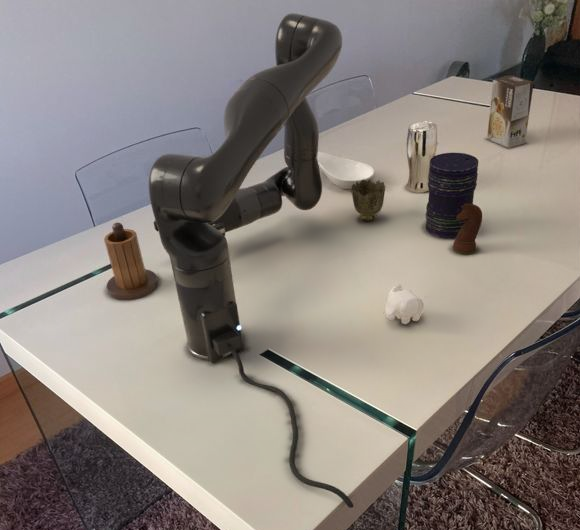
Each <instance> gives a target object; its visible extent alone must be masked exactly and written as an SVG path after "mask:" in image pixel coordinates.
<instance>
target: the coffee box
mask: <svg viewBox="0 0 580 530" xmlns="http://www.w3.org/2000/svg"><path fill="white" fill-rule="evenodd" d="M534 83H535V82H534V81H532V80H528V79H525V78H522V77H519V76H515V75H513V74H510V75H504V76H501V77H498V78H494V79H493V81H492V89H491V98H490V108H489V117H488V124H487V125H488V128H487V135H486V139H487V140H488V141H490V142H493V143H496V144H498V145H500V146H503V147H505V148H507V149H510V148H514V147H517V146H521V145H524V144H526V139H527V133H528V125H529V119H530V112H531V105H532V98H533V91H534Z"/></svg>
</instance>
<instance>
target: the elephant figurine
mask: <svg viewBox="0 0 580 530" xmlns="http://www.w3.org/2000/svg"><path fill="white" fill-rule="evenodd" d="M387 298H388V299H387V301H386V305H385V308H384V311H383V313H384V314H385V317H386V319H387V320H388V321H393V320H395V318H397V319H398V320H401V323H402V325H407V324H409V323H410V321H411V320H412V321H413V322H417V321H419V320H420V318H421V316H422V314H423V311H424V307H425V304H424V299H425V298H427V295H424V297H421V298H420V296H418V295H417V294H416V293H415V292H414V291H413V290H411V289H403V285H402V284H396V285H395V286H394V287H392V288H391V289H390V290H389V293H388V295H387Z"/></svg>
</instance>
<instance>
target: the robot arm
mask: <svg viewBox="0 0 580 530" xmlns="http://www.w3.org/2000/svg"><path fill="white" fill-rule="evenodd" d="M342 35H343V34H342V32H341V30H340V28H339V26H337V25H336V24H335V23H333V22H331V21H329V20H327V19H322V18H317V17H313V16H308V15H305V14H300V13H295V12H293V13H287V14H286V15H285V16H284V17H283V18H282V19H281V21H280V23H279V24H278V27H277V30H276V34H275V42H274V55H275V66H272V67H269V68H266V69H263V70H260V71H258V72H255V73H254V74H253V75H251V76H249V77H248V78H247V79H245V81H244V82H243V83H242V84H241V85H240V86H239V87H238V88H237V90H236V91H235V92H234V93H233V94H232V96H231V97H230V98H229V99H228V100H227V103H226V105H225V107H224V112H223V128H224V135H225V140H224V141H223V142H222V144H221V145H220V146H219V147H218V149H217V150H215V152H213V153H212V154H211V155H208V156H206V157H205V156H204V157H203V156H195V155H187V154H179V153H165V154H162V155H161V156H159V157H158V158H156V160H155V161H154V162H153V164H152V166H151V169H150V172H149V176H148V194H149V201H150V206H151V209H152V213H153V218H154V221H153V227H154V230H155V231H156V232H158V235H159V239H160V242H161V245H162V247H163V249H164V250H165V252H166V253H167V255H168V257H169V260H170V265H171V269H172V274H173V279H174V284H175V289H176V293H177V298H178V302H179V308H180V312H181V317H182V322H183V327H184V331H185V335H186V340H187V348H188V351H189V353H190V354H191V355H192V356H194V357H195V358H197V359H201V360H207V361H209V362H210V363H216V362H218V361H221V360H223V359H225V358H227V357H230V356H233V357H234V359H235V362H236V363H237V366H238V373H239V376H240V378H242V379H243V380H244V381H245V382H246V383H247V384H249V385H250V386H254V387H257V388H260V389H264V390H267V391H270V392H273V393H276V394H277V395H279V396H280V397H281V398H282V399H283V401H284V402H285V404H286V405H287V408H288V411H289V416H290V422H291V428H292V442H291V445H290V450H289V457H288V462H289V467H290V470H291V472H292V474H293V476H294V477H295V478H296V479H297V480H298V481H300V483H302V484H305V485H308V486H311V487H314V488H316V489H317V488H318V489H322V490H325V491H328V492H331V493H333V494H335V495H336V496H337V497H339V498H340V499H341V500H342V501H343V502H344V503H345V505H346V506H347V507H348V508H350V509H352V508H354V503H353V501H352V500H351V499H350V497H349V496H348V495H347V494H346V493H345V492H344V491H342V490H341V489H340V488H338V487H336V486H333V485H331V484H328V483H324V482H320V481H316V480H313V479H309V478H307V477H305V476H303V475H302V474H301V473H300V472H299V470H298V469H297V466H296V462H295V461H296V460H295V457H296V454H295V453H296V450H297V445H298V440H299V430H298V429H299V428H298V423H297V417H296V412H295V407H294V405H293V403H292V401H291V399H290V398H289V397H288V395H287V394H286V393H285V392H284V391H283V390H282V389H279V388H278V387H276V386H272V385H268V384H263V383H260V382H257V381H254V380H253V379H251V378H250V377H248V375H247V374H246V373H245V369H244V365H243V361H242V359H241V357H240V355H239V354H238V352H241V351H242V350H244V342H243V335H242V326H241V322H240V316H239V310H238V309H239V308H238V304H237V299H236V293H235V285H234V279H233V278H234V277H233V272H232V264H231V257H230V249H229V244H228V241H227V238H226V233H228V232H232V231H234V230H237V229H239V228H242V227H245V226H248V225H250V224H253V223H254V222H256V221H258V220H261V219H264V218H267V217H270V216H272V215H276V214H277V213H278V212H279V211H281V209H282V207H283V198H282V197H285V198H286V200H288V201H289V202H290V204H292V205H293V206H294V207H296V208H297V209H299V210H300V211H310V210H312V209H314V208H315V207H316V206H317V205H318V204H319V202H320V200H321V197H322V194H323V181H322V175H321V170H320V169H321V168H320V166H319V164H318V160H317V155H318V151H319V139H320V138H319V137H320V131H319V125H318V121H317V117H316V116H315V114H314V111H313V109H312V107H311V105H310V103H309V101H308V99H307V96H308V95H309V94H310V93H311V92H312V91H313V90H315V88H316V87H317V86H318V85H319V84H321V82H323V81H324V79H326V78H327V77H328V75H329V74H330V73H331V72H332V70H333V69H334V67H335V66H336V64H337V62H338V59H339V57H340V54H341V52H342V47H343V36H342ZM283 128H284V130H283V131H284V132H283V138H284V139H283V159H284V163H285V164H286V166H288V167H286V166H285V167H284V168H281V169H280V170H279V171H277V172H276V173H274V174H273V175H272V176H269V178H267V179H265V180H264V181H263V182H260V183H257V184H253V185H251V186H247V187H244V188H241V187H242V185H243V183H244V181H245V179H246V178H247V176H248V174H249V173H250V171H251V169H252V168H253V166H254V165H255V164H256V162H257V161H258V159H260V157H261V156H262V154H263V152H264V151H265V149H266V148H267V147H268V146H269V145H270V143H271V142H272V141H273V140H274V139H275V137H276V136H277V135H278V134H279V132H280V131H281V130H282V129H283Z"/></svg>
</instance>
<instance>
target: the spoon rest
mask: <svg viewBox="0 0 580 530" xmlns="http://www.w3.org/2000/svg"><path fill="white" fill-rule="evenodd" d="M317 160H318V164H319V168H320V169H321V170H322V172H323V173H324V174H325V176H326V177H327V178H328V180H329V181H330V182H331V183H332V184H334V185H335V186H337V187H338V188H340V189H342V190H352V185H353V184H355V185H356V182H359V183H360V182H361V180H366V181H367V182H368V180H369V179H370V180H372V179H373V177H374V176H375V174H376V171H375V168H373V167H372V166H371V165H369V164H367V163H364V162H362V161H358V160H355V159H354V160H353V159H350V158H346V157H341V156H337V155H335V154H330V153H327V152H323V151H319V150H318V155H317ZM285 167H288V166H287V165H286V166H285Z"/></svg>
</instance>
